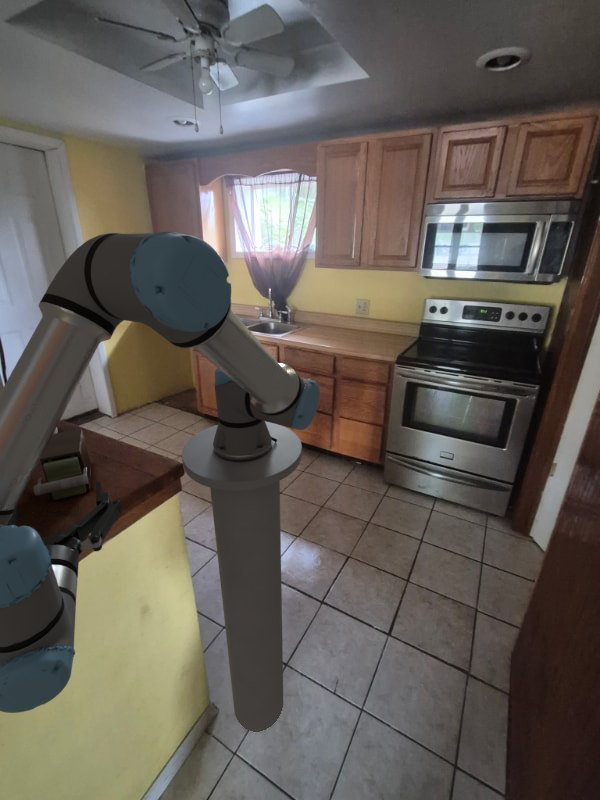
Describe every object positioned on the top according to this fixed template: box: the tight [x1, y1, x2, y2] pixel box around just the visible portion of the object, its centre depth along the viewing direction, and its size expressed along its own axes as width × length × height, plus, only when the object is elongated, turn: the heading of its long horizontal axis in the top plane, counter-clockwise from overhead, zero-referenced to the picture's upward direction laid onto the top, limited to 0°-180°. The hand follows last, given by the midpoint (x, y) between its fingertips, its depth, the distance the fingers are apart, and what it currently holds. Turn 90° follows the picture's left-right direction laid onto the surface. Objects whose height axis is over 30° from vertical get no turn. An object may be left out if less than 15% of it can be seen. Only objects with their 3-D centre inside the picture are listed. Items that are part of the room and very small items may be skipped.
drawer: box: [33, 454, 89, 501], centre depth 80 cm, size 16×9×9 cm, turn 27°
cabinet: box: [39, 428, 92, 500], centre depth 84 cm, size 11×7×10 cm, turn 27°
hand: (59, 497), depth 70 cm, fingers open, 13 cm apart
